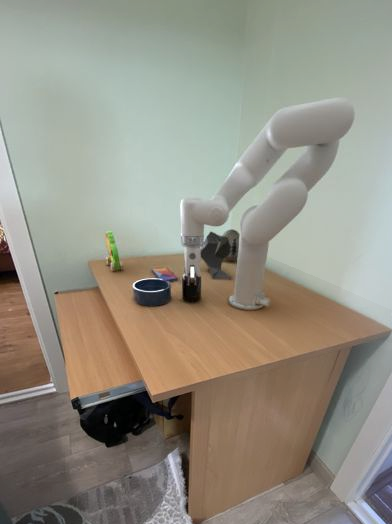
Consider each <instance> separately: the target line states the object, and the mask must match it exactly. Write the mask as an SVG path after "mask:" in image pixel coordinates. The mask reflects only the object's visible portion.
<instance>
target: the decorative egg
mask: <svg viewBox="0 0 392 524" xmlns="http://www.w3.org/2000/svg"><path fill="white" fill-rule="evenodd" d="M221 236H226V237H227V238H228V239H229V242H230V244H231V250H230V251H231V252H230V253H229V255H228V256H227V257H225V258H224V259H223V261H225V262H234V261H236V260H237V259H238V249H239V237H240V232H239V231H238V230H236V229H233V228H232V229H228V230H226V231H225V232H223V234H222V235H221Z"/></svg>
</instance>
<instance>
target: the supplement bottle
mask: <svg viewBox="0 0 392 524" xmlns="http://www.w3.org/2000/svg"><path fill="white" fill-rule="evenodd" d="M189 276H191V275H190V274H189ZM194 276H195V274H194ZM187 285H188V277H187V276H186V271H185V270H184V274H182V277H181V298H182V301H183V302H185V303H190V304H191V303H192V304H193V303H198V302H200V301H201V299H202V275H200V277H198V276H196V285H197V291H196V296H187Z"/></svg>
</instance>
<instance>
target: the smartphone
mask: <svg viewBox="0 0 392 524" xmlns="http://www.w3.org/2000/svg"><path fill="white" fill-rule="evenodd" d="M151 272H152V273H153V275H154V276H155V277H156V279H163V280H166V281H168V282H173V281H174V282H175V281H177V280H178V277H177V276H176V275H175V274H174V273H173V272H172V270H171V269H169V268H168V267H167V266H165V267H164V266H163V267H154V268H151Z"/></svg>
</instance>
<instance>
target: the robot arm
mask: <svg viewBox="0 0 392 524" xmlns="http://www.w3.org/2000/svg"><path fill="white" fill-rule="evenodd" d="M354 120H355V108H354V105H353V103H352V102H351V101H350V100H349V99H348V98H345V97H339V96H337V97H331V98H326V99H321V100H317V101H312V102H306V103H301V104H294V105H289V106H285V107H282V108H280V109H278V110H277V111H276V112H275V113H274V114H273V115H272V116H271V117H270V119H268V121H267V122H266V124H265V125H264V126H263V128H262V129H261V130H260V131H259V133H258V134H257V136H256V137H255V138H254V139H253V141H252V142H251V143H250V144H249V146H248V147H247V148H246V149H245V151H244V152H243V154H242V155H241V157H239V159H238V160H237V162H236V163H235V165H234V166H233V168H232V170H231V171H230V173H229V174H228V176H227V177H226V178H225V179H224V181H223V182H222V183H221V185H220V186H219V188H218V189H217V190H216V191H215V192H214V194H213V195H212V196H211V198H210V199H209V200H207V199H206V200H204V199H203V198H200V197H184V198H182V199H181V201H180V246H181V247H183V249H184V271H186V276H187V277H188V285H187V296H196V291H197V285H196V276H198V277H200V276H201V260H202V258H201V247H202V246H203V245H204V241H205V240H204V239H205V238H204V237H205V226H210V227H221V226H223V225H224V224H226V223H227V221H228V220H229V216H230V213H231V212H232V210H233V209H234V208H235V206H236V205H237V204H238V203H239V202H240V201H241V199H242V198H244V196H245V195H246V194H247V193H248V192H249V191H250V190H252V189H254V188H255V187H256V186H257V185H259V183H261V181H263V179H264V178H265V177H266V175H267V174H268V173H269V172H270V171H271V170H272V168H273V167H274V166H275V165H276V163H277V162H278V161H279V160H280V159H281V158H282V156H283V155H284V154H285V153H286V151H287V150H288V149H295V148H303V147H306V148H305V149H304V151H303V152H302V154H301V155H300V156H299V157H298V158H297V160H296V161H295V162H294V163H293V164H292V165H291V166H290V167H289V168H288V169H287V170H286V171H285V172H284V173H283V174H282V175H281V176H280V177H279V178H278V179H276V181H274V183H272V185H271V186H270V189H269V191H268V194H267V196H265V197H264V199H263V200H262V201H261V202H260V203H259V204H258V205H252V206H250V207H248V208H247V209H246V210H245V211H244V213H243V214H242V216H241V219H240V223H239V234H240V237H239V249H238V258H237V259H236V260H237V261H236V271H235V278H234V279H235V280H234V291H233V294H232V295H231V296H229V299H228V303H229V304H230V305H231V306H233V307H235V308H236V309H239V310H240V309H241V310H247V311H248V310H249V311H252V310H253V311H255V310H259V309H261V308H263V307H266V308H268V307H269V306H270V303H271V299H270V298H268V297H265V292H264V291H263V286H264V278H265V272H266V267H267V259H268V254H269V244H270V241H272V240H273V239H274V238H275V237H276V236H278V234H280V232H281V231H283V230H284V229H285V228H286V227H287V226H288V225H289V224H290V223H291V222H292V221H293V220H294V219H296V217H297V216H299V214H300V213H301V212H302V211H303V209H304V208H305V206H306V205H307V201H308V197H309V192H310V191H311V190H312V189H313V188H314V187H315V186H316V185H317V183H319V181H321V180H322V179H323V177H324V176H325V175H326V174H327V173H328V171H329V170H330V169H331V168H332V166H333V163H334V162H335V159H336V157H337V153H338V151H339V146H340V140H341V139H342V138H344V137H345V136H346V135H347V134H348V132H349V131H350V129H351V128H352V127H353V124H354ZM189 274H190V275H191V276H189ZM194 274H195V276H194Z"/></svg>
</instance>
